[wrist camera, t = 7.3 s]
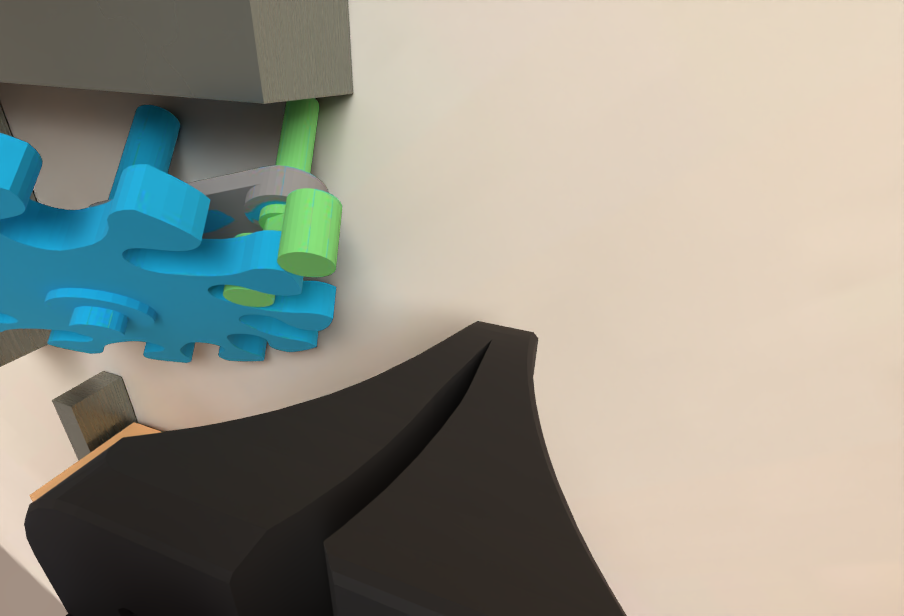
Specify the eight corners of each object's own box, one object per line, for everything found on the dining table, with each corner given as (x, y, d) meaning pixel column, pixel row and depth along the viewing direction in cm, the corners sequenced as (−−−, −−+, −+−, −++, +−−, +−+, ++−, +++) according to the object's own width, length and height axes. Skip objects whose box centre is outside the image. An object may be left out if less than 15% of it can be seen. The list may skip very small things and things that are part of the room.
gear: (126, 388, 16) (-448, 264, 8) (164, 235, 19) (-249, -3, 10) (432, 367, 13) (75, 113, 4) (436, 186, 16) (200, -229, 7)
